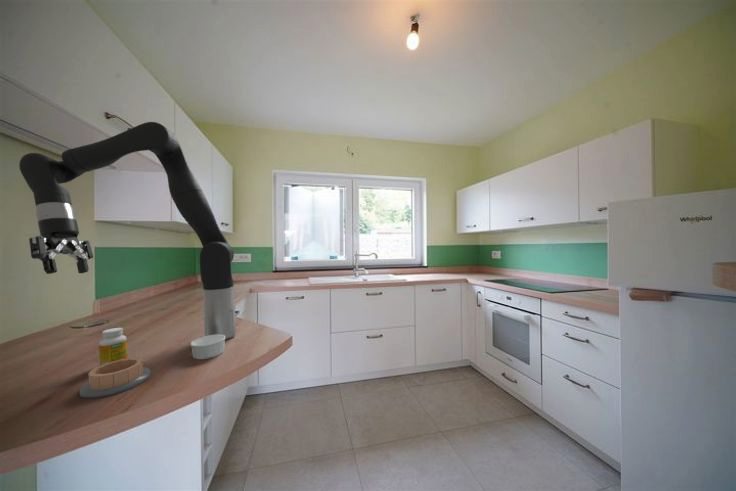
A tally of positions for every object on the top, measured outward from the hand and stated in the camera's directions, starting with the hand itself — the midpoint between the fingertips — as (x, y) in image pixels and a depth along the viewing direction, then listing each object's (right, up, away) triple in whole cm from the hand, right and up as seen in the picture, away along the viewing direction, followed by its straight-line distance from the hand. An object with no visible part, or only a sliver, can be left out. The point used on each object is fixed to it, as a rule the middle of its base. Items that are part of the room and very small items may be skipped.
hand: (68, 272), depth 77 cm
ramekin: (+41, -24, 0) cm, 48 cm away
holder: (+29, -24, -15) cm, 41 cm away
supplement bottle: (+19, -25, -5) cm, 32 cm away
